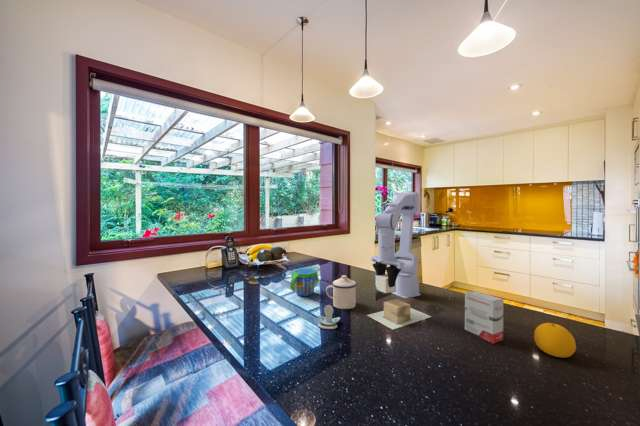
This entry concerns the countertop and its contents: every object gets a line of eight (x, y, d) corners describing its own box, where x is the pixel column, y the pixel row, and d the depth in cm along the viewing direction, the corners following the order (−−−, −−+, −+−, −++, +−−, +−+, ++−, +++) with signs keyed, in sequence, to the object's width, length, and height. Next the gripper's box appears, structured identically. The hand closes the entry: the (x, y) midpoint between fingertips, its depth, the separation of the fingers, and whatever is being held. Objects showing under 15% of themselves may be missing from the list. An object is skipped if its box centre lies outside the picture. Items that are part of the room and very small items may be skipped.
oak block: (396, 313, 89) (396, 298, 89) (410, 319, 84) (410, 304, 84) (383, 316, 86) (383, 302, 86) (397, 323, 81) (397, 308, 81)
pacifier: (337, 331, 78) (341, 322, 84) (337, 311, 78) (340, 303, 83) (314, 329, 80) (319, 320, 85) (314, 309, 79) (319, 302, 85)
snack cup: (310, 287, 121) (310, 266, 121) (326, 292, 113) (326, 269, 113) (283, 295, 110) (283, 272, 110) (299, 301, 103) (298, 276, 102)
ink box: (504, 340, 72) (504, 298, 71) (493, 344, 69) (493, 301, 69) (474, 327, 79) (474, 289, 79) (463, 331, 77) (463, 292, 77)
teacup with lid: (359, 303, 100) (358, 274, 100) (352, 312, 92) (352, 280, 91) (330, 299, 105) (330, 271, 104) (321, 307, 96) (321, 276, 96)
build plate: (404, 306, 96) (404, 304, 96) (431, 318, 86) (431, 316, 86) (366, 316, 88) (366, 315, 88) (392, 331, 77) (392, 329, 77)
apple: (580, 366, 60) (581, 334, 59) (536, 356, 64) (537, 326, 64) (570, 350, 66) (570, 321, 66) (531, 342, 71) (531, 315, 70)
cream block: (386, 287, 94) (386, 274, 94) (395, 291, 91) (395, 277, 90) (376, 289, 92) (376, 275, 92) (385, 293, 88) (385, 278, 88)
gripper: (364, 245, 96) (364, 281, 96) (392, 250, 83) (392, 292, 83) (379, 243, 99) (379, 278, 99) (408, 248, 86) (408, 288, 87)
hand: (386, 284), depth 91 cm, fingers closed on cream block, 4 cm apart
